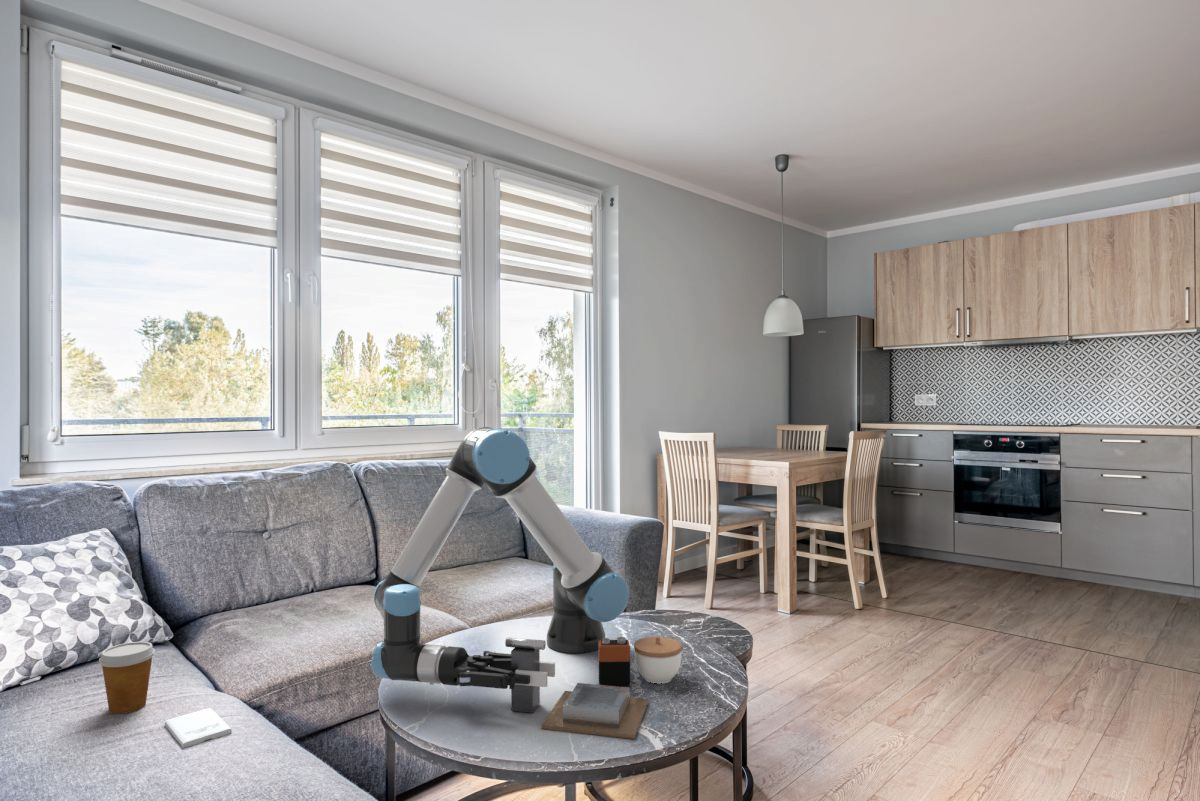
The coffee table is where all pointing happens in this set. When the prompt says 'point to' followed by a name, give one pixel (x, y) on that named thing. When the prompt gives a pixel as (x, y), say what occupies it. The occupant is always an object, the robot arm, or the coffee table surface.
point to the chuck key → (525, 659)
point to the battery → (614, 662)
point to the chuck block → (597, 711)
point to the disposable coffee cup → (127, 675)
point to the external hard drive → (197, 727)
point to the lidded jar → (658, 658)
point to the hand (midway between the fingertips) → (550, 674)
